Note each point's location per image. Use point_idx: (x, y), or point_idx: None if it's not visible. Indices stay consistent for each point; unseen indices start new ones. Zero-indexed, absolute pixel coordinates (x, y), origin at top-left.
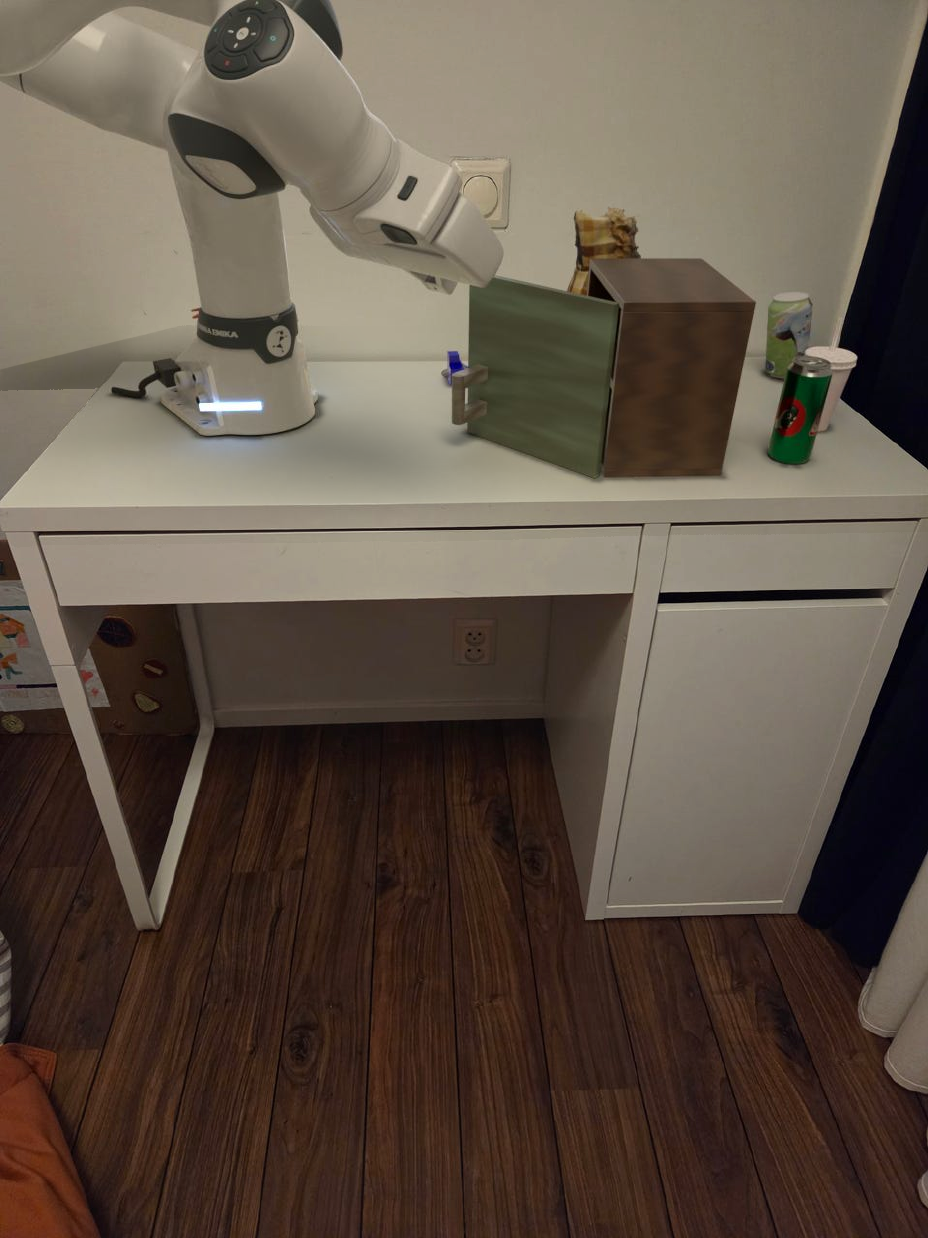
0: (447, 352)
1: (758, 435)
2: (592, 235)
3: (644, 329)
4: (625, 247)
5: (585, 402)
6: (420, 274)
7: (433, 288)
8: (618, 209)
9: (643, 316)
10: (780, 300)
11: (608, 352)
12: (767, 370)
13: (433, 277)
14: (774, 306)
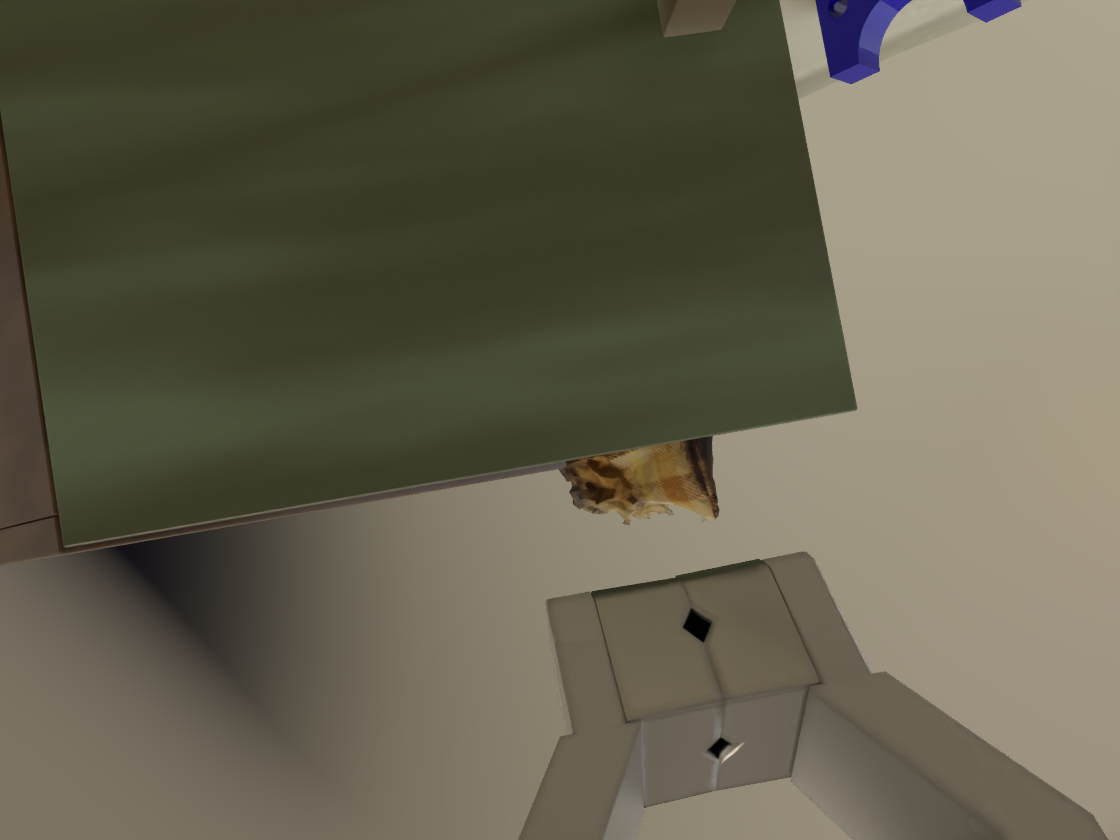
0: (1019, 2)
1: None
2: (659, 467)
3: (6, 458)
4: None
5: (95, 88)
6: (870, 755)
7: (726, 610)
8: (643, 517)
9: (17, 507)
10: None
11: (34, 344)
12: None
13: (731, 731)
14: None
